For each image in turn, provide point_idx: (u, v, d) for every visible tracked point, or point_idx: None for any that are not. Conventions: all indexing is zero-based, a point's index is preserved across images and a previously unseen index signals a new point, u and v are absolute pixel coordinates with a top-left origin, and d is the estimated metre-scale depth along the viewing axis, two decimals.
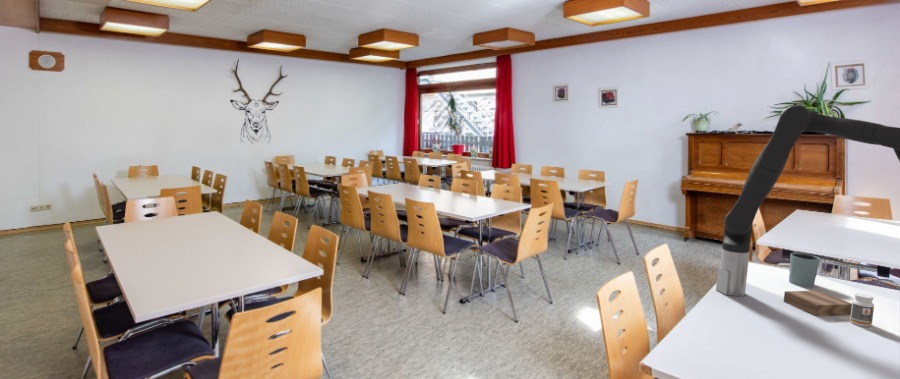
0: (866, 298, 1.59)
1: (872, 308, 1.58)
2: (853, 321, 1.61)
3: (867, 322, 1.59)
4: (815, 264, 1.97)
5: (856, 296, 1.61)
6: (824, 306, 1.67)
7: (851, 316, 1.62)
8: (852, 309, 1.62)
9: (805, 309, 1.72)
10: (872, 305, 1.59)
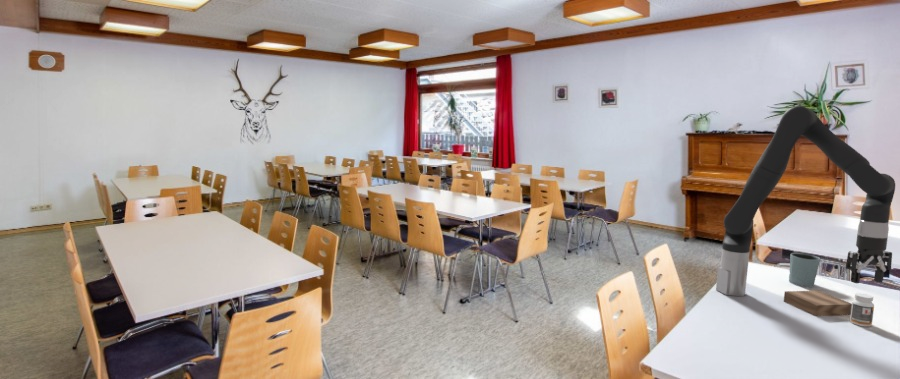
0: (866, 298, 1.59)
1: (872, 308, 1.58)
2: (853, 321, 1.61)
3: (867, 322, 1.59)
4: (815, 264, 1.97)
5: (856, 296, 1.61)
6: (824, 306, 1.67)
7: (851, 316, 1.62)
8: (852, 309, 1.62)
9: (805, 309, 1.72)
10: (872, 305, 1.59)
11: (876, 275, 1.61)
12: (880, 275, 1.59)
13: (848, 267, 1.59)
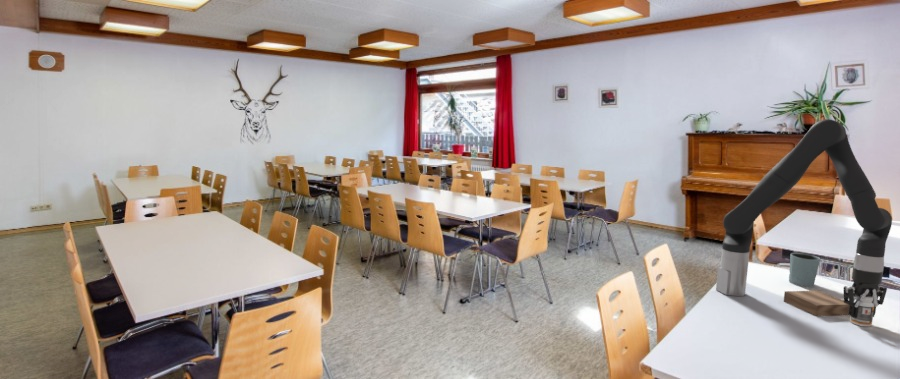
0: (866, 298, 1.59)
1: (872, 308, 1.58)
2: (853, 321, 1.61)
3: (868, 322, 1.59)
4: (815, 264, 1.97)
5: (856, 296, 1.61)
6: (824, 306, 1.67)
7: None
8: None
9: (805, 309, 1.72)
10: (872, 305, 1.59)
11: None
12: None
13: (846, 302, 1.60)
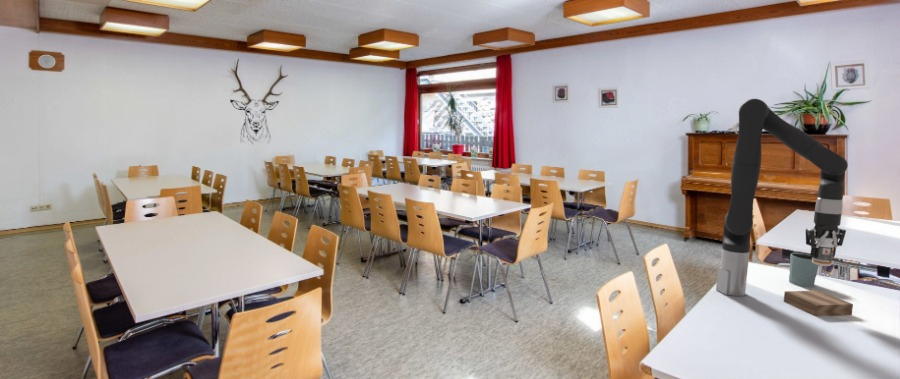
0: (826, 239, 1.70)
1: (832, 248, 1.70)
2: (814, 261, 1.73)
3: (827, 261, 1.70)
4: (815, 264, 1.97)
5: (817, 238, 1.72)
6: (824, 306, 1.67)
7: None
8: None
9: (805, 309, 1.72)
10: (832, 245, 1.70)
11: None
12: None
13: (808, 243, 1.72)
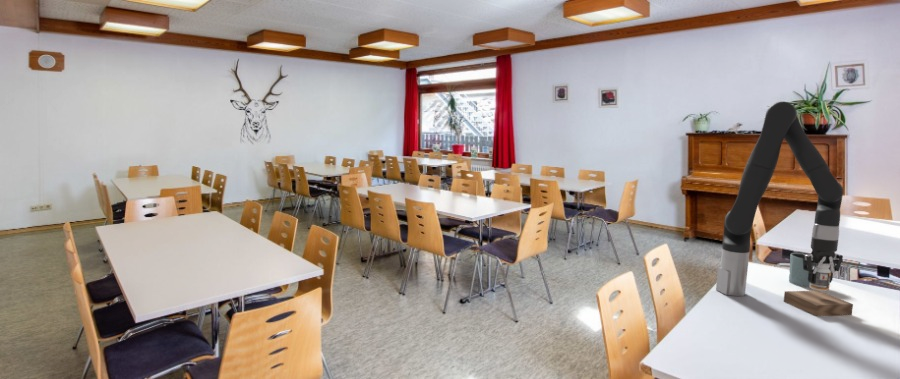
0: (823, 265, 1.71)
1: (829, 274, 1.71)
2: (812, 287, 1.74)
3: (825, 287, 1.71)
4: None
5: (814, 263, 1.73)
6: (824, 306, 1.67)
7: None
8: None
9: (805, 309, 1.72)
10: (829, 271, 1.71)
11: None
12: None
13: (805, 269, 1.73)
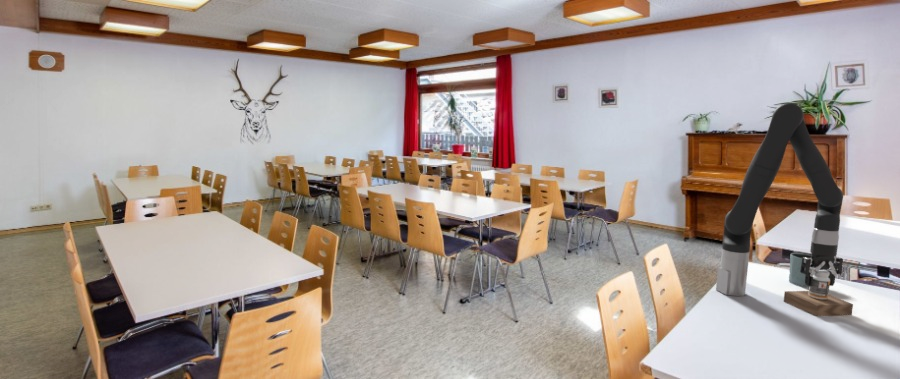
0: (823, 273, 1.71)
1: (828, 282, 1.71)
2: (811, 294, 1.74)
3: (823, 295, 1.72)
4: None
5: None
6: (824, 306, 1.67)
7: (809, 290, 1.75)
8: None
9: (805, 309, 1.72)
10: (828, 280, 1.71)
11: None
12: (831, 279, 1.73)
13: (802, 271, 1.73)
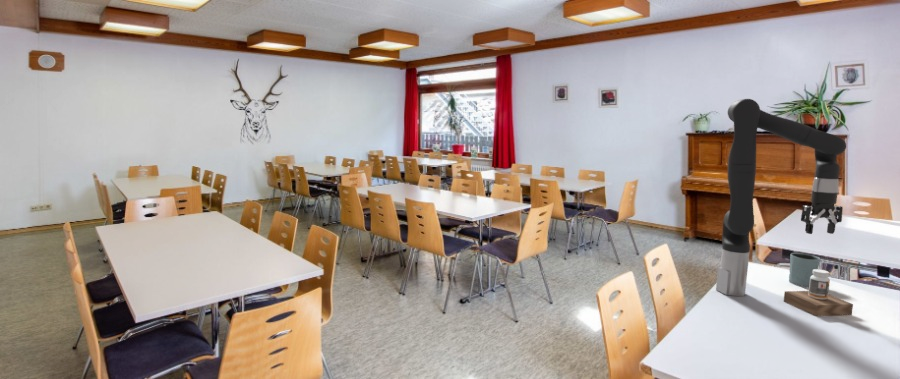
0: (822, 273, 1.71)
1: (827, 282, 1.71)
2: (810, 295, 1.74)
3: (823, 295, 1.72)
4: (815, 264, 1.97)
5: (813, 272, 1.74)
6: (824, 306, 1.67)
7: (809, 290, 1.75)
8: (810, 284, 1.75)
9: (805, 309, 1.72)
10: (827, 280, 1.71)
11: (828, 227, 1.80)
12: (832, 227, 1.79)
13: (802, 219, 1.79)
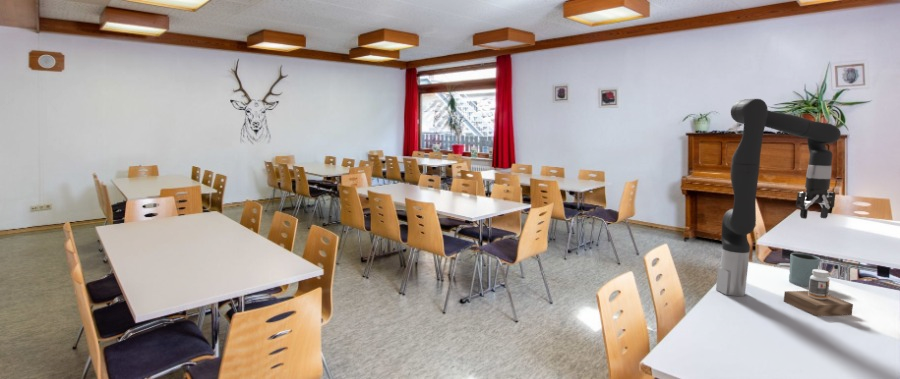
0: (821, 273, 1.72)
1: (827, 282, 1.71)
2: (810, 295, 1.74)
3: (823, 295, 1.72)
4: (815, 264, 1.97)
5: (813, 271, 1.74)
6: (824, 306, 1.67)
7: (809, 290, 1.75)
8: (809, 284, 1.75)
9: (805, 309, 1.72)
10: (827, 280, 1.72)
11: (822, 212, 1.89)
12: (825, 212, 1.87)
13: (797, 205, 1.87)
